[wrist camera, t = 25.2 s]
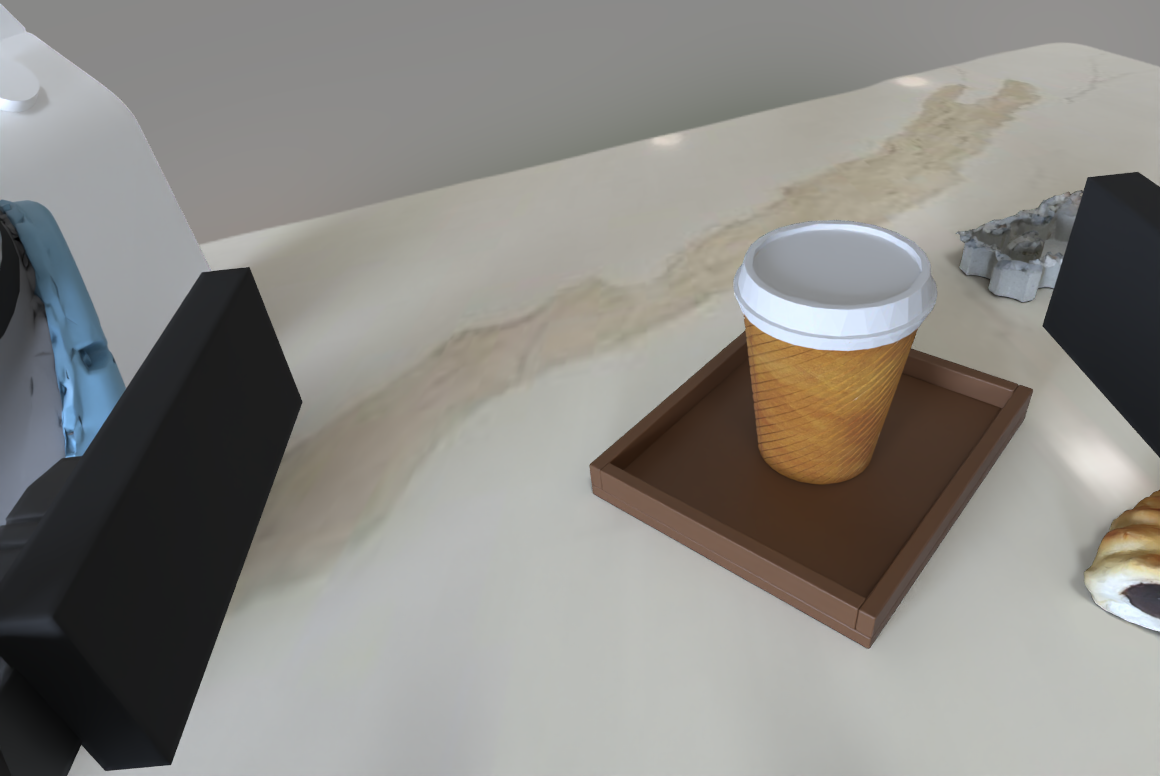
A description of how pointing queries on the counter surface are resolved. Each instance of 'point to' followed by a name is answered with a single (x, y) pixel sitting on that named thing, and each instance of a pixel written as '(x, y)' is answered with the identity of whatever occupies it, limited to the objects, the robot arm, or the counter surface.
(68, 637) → the robot arm
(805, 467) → the disposable coffee cup
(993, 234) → the egg carton
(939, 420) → the serving tray
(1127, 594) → the pastry
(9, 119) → the milk
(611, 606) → the counter surface
